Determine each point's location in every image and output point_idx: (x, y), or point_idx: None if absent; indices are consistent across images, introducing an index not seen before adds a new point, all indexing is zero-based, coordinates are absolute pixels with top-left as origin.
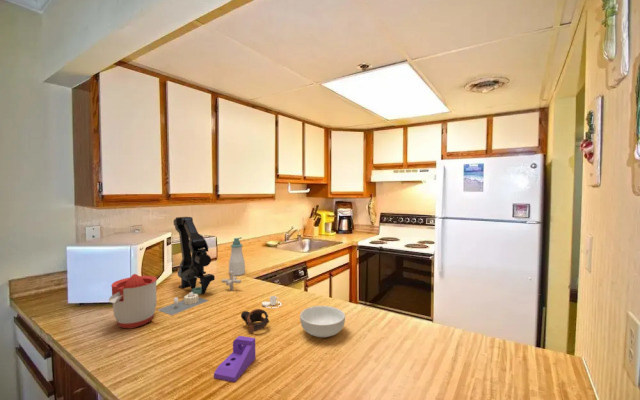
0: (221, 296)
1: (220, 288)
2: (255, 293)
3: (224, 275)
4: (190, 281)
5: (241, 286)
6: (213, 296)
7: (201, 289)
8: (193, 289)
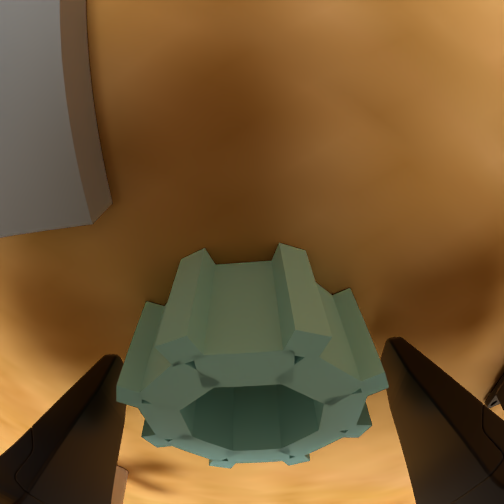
0: (15, 388)
1: (223, 473)
2: (2, 445)
3: (400, 498)
4: (495, 493)
5: (149, 497)
6: (44, 370)
7: (160, 425)
8: (310, 371)
